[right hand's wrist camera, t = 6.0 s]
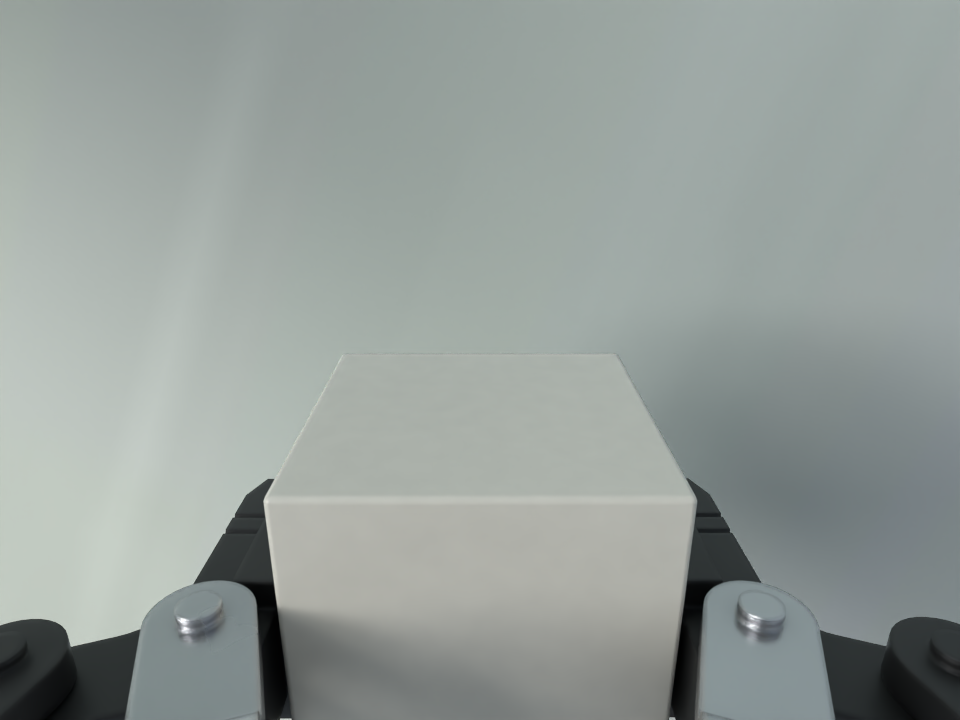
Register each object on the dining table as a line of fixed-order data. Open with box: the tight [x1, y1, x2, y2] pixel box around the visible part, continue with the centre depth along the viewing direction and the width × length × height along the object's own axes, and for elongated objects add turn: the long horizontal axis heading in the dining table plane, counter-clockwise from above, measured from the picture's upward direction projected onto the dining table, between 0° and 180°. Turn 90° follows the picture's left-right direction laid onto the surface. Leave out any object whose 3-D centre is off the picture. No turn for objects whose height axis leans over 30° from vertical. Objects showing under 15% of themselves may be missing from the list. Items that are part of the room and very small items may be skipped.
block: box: [264, 354, 697, 720], centre depth 10 cm, size 5×5×5 cm
